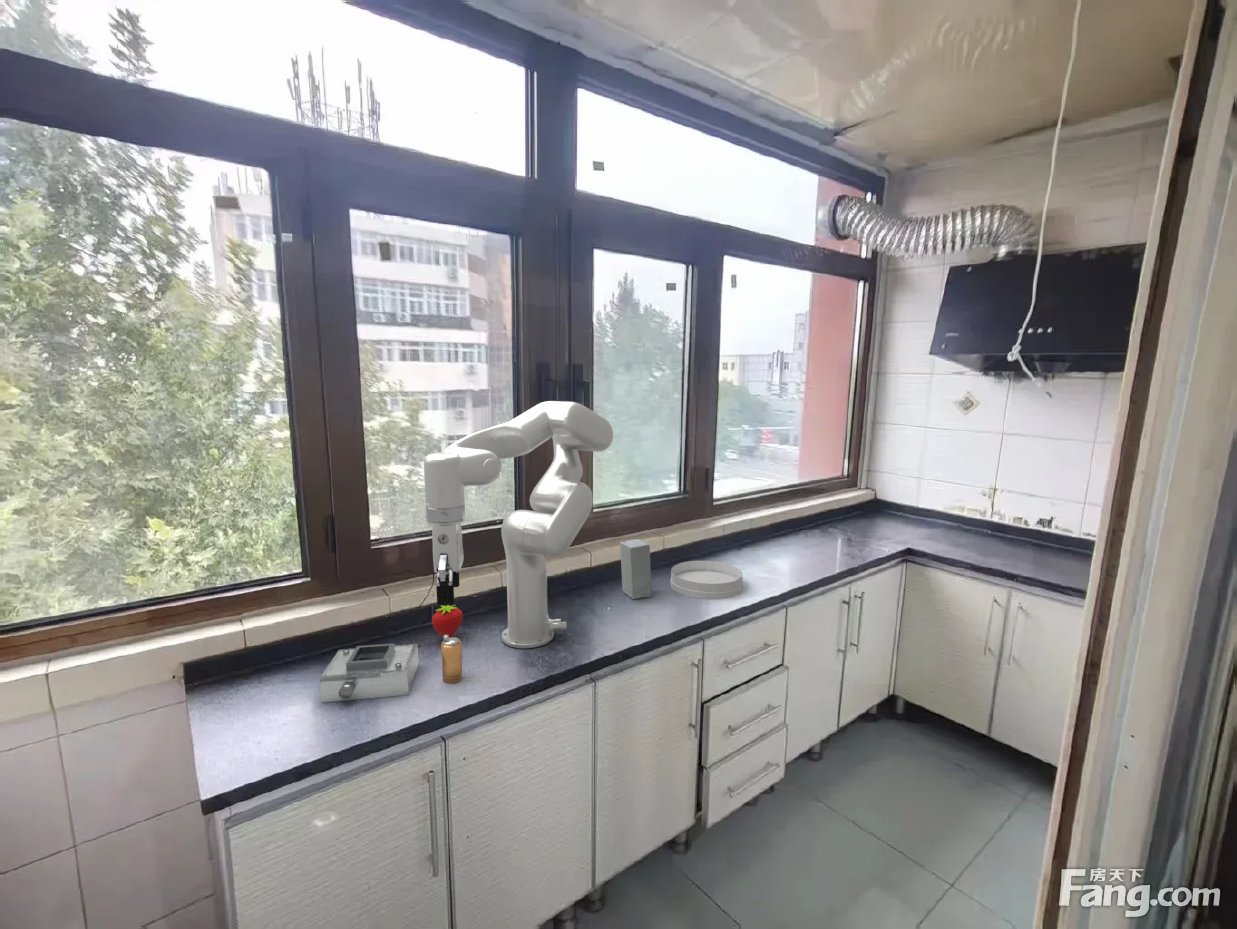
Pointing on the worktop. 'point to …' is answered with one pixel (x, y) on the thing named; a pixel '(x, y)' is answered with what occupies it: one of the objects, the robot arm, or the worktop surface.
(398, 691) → the plate
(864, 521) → the worktop surface
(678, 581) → the dish
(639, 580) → the skincare box
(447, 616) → the strawberry
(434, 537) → the robot arm
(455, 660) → the spout can
